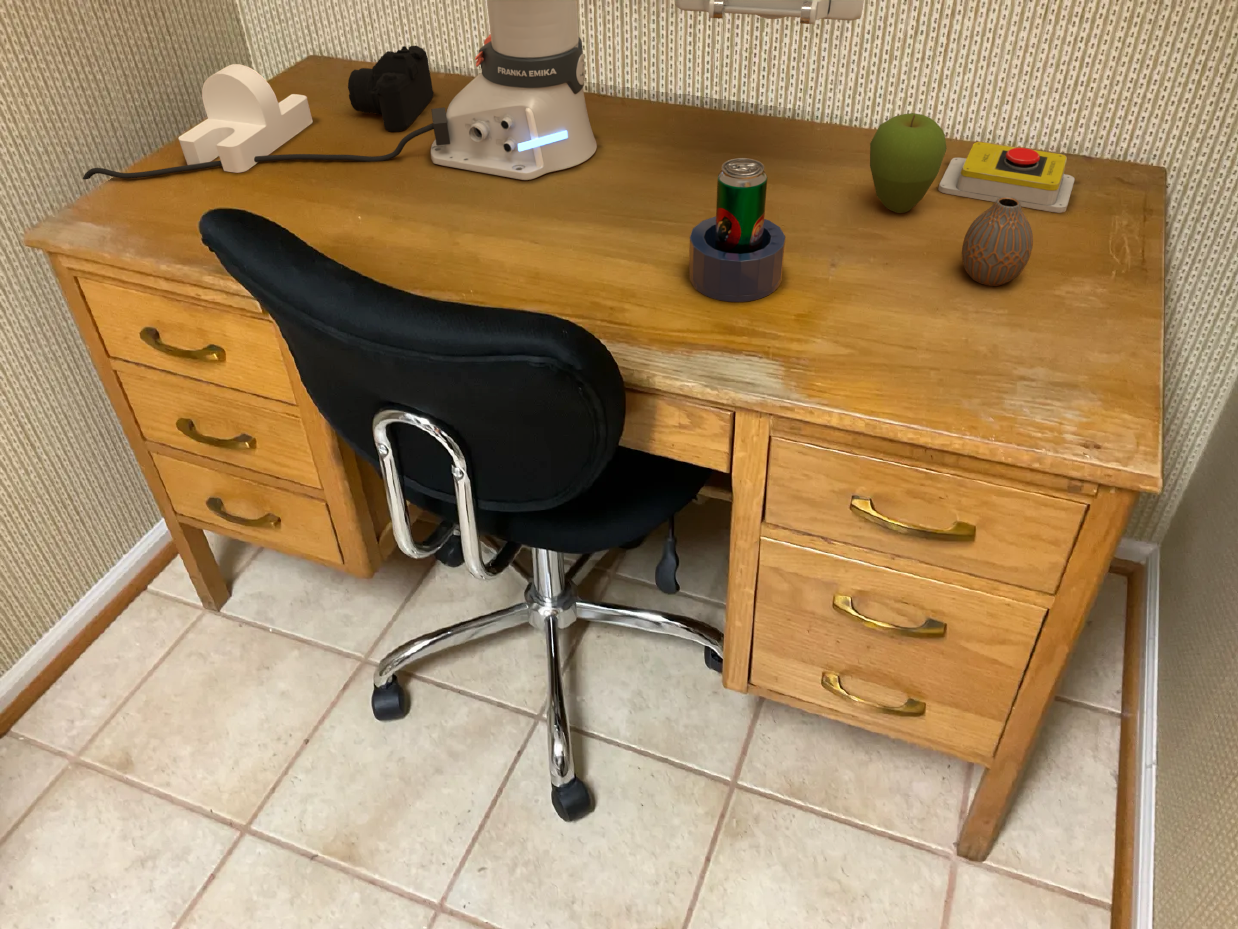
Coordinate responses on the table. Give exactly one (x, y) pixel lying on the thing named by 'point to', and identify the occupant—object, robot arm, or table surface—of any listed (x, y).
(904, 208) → the apple
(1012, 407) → the table surface
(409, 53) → the film camera
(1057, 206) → the emergency button
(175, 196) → the table surface
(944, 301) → the table surface
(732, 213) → the soda can
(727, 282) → the socket
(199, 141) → the white slotted bracket
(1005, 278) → the vase
